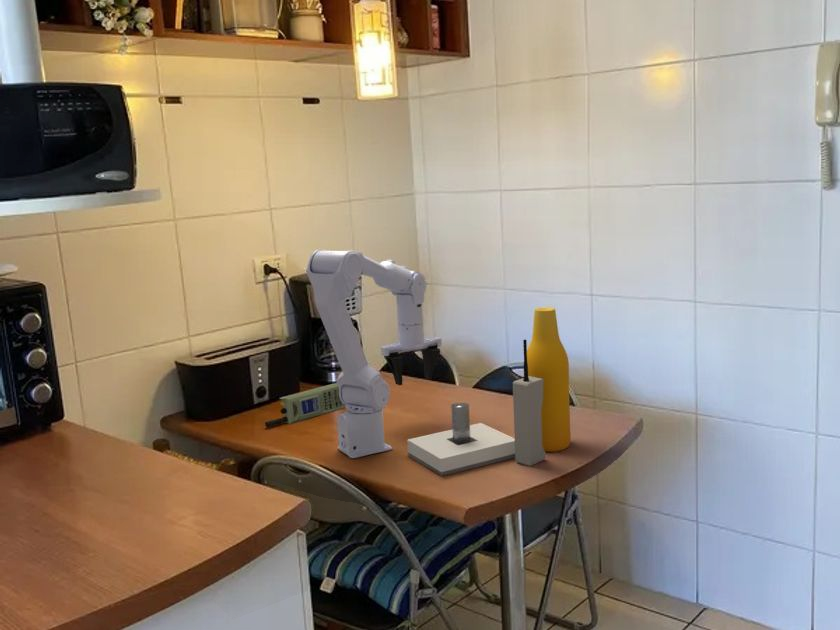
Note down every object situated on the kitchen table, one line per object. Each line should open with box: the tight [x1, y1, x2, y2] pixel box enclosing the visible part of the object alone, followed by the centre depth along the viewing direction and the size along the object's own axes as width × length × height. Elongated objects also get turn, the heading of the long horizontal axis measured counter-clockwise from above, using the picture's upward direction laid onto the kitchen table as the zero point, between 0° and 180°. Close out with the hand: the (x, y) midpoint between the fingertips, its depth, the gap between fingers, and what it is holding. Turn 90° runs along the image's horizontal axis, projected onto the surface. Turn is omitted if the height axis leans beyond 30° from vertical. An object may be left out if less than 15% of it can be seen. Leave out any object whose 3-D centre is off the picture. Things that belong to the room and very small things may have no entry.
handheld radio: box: [264, 382, 346, 428], centre depth 205 cm, size 7×3×25 cm
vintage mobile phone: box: [512, 339, 546, 467], centre depth 165 cm, size 4×5×25 cm
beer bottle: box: [527, 306, 571, 453], centre depth 174 cm, size 9×9×29 cm
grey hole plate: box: [406, 422, 515, 477], centre depth 172 cm, size 18×14×4 cm
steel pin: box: [450, 402, 471, 445], centre depth 171 cm, size 4×4×10 cm
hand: (413, 381), depth 192 cm, fingers open, 7 cm apart
